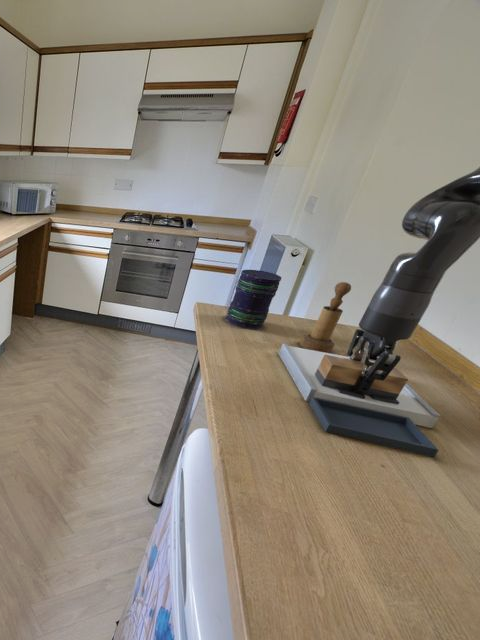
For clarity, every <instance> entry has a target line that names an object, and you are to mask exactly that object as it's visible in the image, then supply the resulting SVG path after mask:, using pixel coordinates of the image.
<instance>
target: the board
mask: <svg viewBox="0 0 480 640" xmlns="http://www.w3.org/2000/svg"><path fill="white" fill-rule="evenodd" d="M278 355H279V357H280V359H281V360H282V362H283V364H284V366H285V367H286V369H287V371H288V373H289V375H290V376H291V378H292V379H293V381H294V384H295V385H296V387H297V389H298V390H299V392H300V394H301V396H302V397H303V399H304V400H305V401H307V402H310V401H311V399H312V397H315V398H320V399H324V400H329V401H334V402H338V403H343V404H348V405H352V406H357V407H362V408H366V409H371V410H376V411H380V412H385V413H390V414H394V415H399V416H404V417H408V418H410V419H411V421H412V422H413V423H414V424H415V425H416V426H420V427H425V428H429V429H433V428H434V426H435V424H436V423H437V422H438V421H439V419H440V417H441V415H440V414H439V413H438V412H437V411H436V410H435V409H434V408H433V407H432V406H431V405H430V404H429V403H427V402H426V400H425V399H423V398H422V397H421V396H420V395H419V394H418V393H417V392H416V391H415V390H414V389H413V388H411V386H409V384H408V383H406V384H405V386H404V387H403V389H402V391H401V392H400V394H399V396H398V397H397V399H396V400H398V401H399V404H394V403H389V402H384V401H379V400H374V399H372V398H371V397H370V395H365V394H363V395H365V399H361V398H357V397H354V396H350V395H346V394H342V393H339V391H338V389H336V388H332V387H327V386H322V385H321V383H320V382H319V380H318V379H317V377H316V376H315V373H316V371H317V369H318V367H319V365H320V363H321V361H322V359H323V357H324V355H330V356H335V357H340V358H346V359H349V358H350V356H347V355H341V354H336V353H331V352H330V353H325V352H319V351H314V350H308V349H305V348H303V347H297V346H291V345H289V344H288V343H282V345H281V346H280V349H279V351H278ZM369 361H370V362H375V360H369Z"/></svg>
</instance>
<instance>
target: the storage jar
mask: <svg viewBox="0 0 480 640" xmlns="http://www.w3.org/2000/svg"><path fill="white" fill-rule="evenodd" d="M240 272H241V273H240V276H239V278H238V279H237V282H236V286H235V292H234V295H233V298H232V301H230V304H229V306H228V309H227V313H226V316H225V319H224V320H225V321H226V322H227V323H229V324H231V325H232V326H235V327H239V328H242V329H249V330H261V329H262V328H263V327H264V323H265V322H266V320H267V319H268V318H267V317H268V314H269V312H270V306H271V304H272V300H273V299H274V298H275V296H276V293H277V291H278V290H279V286H280V282H281V281H282V276H280V275H279V274H276V273H272V272H269V271H264V270H259V269H258V270H257V269H242V270H241V271H240Z"/></svg>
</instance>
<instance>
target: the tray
mask: <svg viewBox="0 0 480 640" xmlns="http://www.w3.org/2000/svg"><path fill="white" fill-rule="evenodd" d="M308 404H309V406H310V408H311V409H312V411H313V412H314V414H315V416H316V418H317V420H318V422H319V423H320V425H321V427H322V428H323V430H324V432H326V433H329V434H334V435H339V436H343V437H347V438H350V439H351V438H352V439H356V440H359V441H364V442H367V443H372V444H376V445H380V446H384V447H388V448H393V449H397V450H401V451H406V452H410V453H415V454H419V455H422V456H427V457H431V458H434V457H435V456H436V455H437V454H438V452H439V448H438V447H437V446H436V445H435V444H434V443H433V442H432V441H431V440H430V438H429V437H428V436H426V434H425V433H424V432H423V431H422V430H421V429H420V428H419V427H418V425H415V424H414V423H413V422H412V421H411V419H410V418H408V417H404V416H399V415H394V414H390V413H385V412H380V411H376V410H371V409H366V408H362V407H357V406H352V405H348V404H343V403H338V402H334V401H329V400H324V399H320V398H315V397H312V399H311V401H309V403H308Z"/></svg>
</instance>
